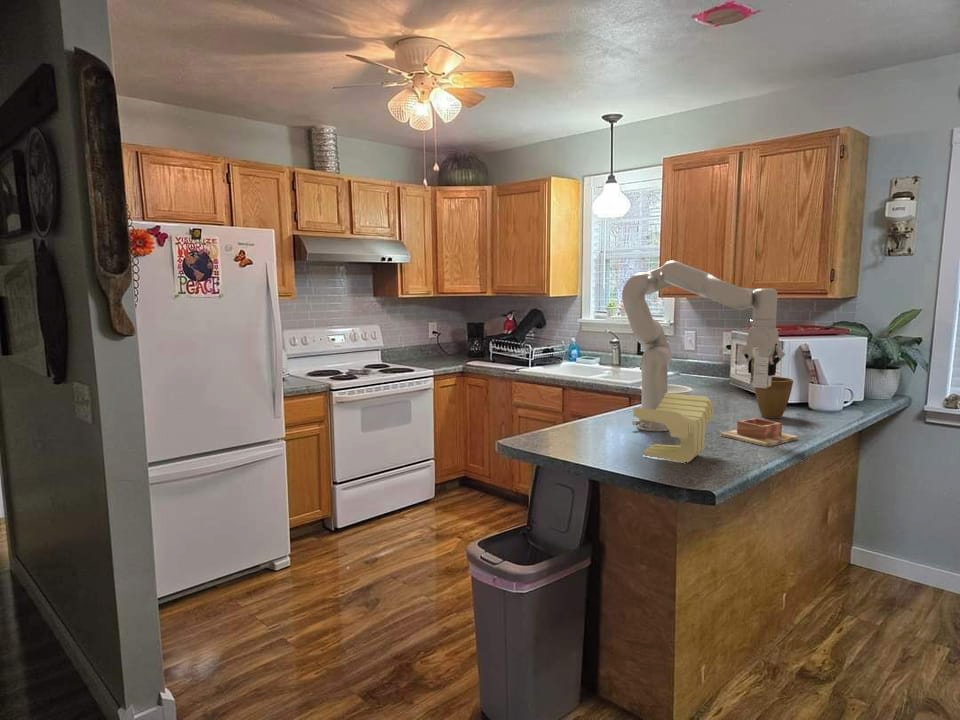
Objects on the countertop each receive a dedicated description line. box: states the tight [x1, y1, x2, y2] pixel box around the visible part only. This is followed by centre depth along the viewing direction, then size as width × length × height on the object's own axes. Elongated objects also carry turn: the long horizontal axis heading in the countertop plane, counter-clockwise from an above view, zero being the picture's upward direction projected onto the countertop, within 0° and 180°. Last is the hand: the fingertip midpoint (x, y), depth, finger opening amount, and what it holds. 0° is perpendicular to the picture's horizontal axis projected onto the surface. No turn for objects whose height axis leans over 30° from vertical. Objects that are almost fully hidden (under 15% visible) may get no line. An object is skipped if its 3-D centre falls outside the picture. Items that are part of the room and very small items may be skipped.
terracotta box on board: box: [720, 417, 799, 448], centre depth 217 cm, size 18×18×6 cm
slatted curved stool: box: [633, 393, 714, 464], centre depth 194 cm, size 30×16×18 cm, turn 145°
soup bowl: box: [638, 383, 693, 395], centre depth 286 cm, size 24×24×7 cm
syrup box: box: [749, 347, 773, 388], centre depth 214 cm, size 6×6×14 cm
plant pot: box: [753, 376, 794, 419], centre depth 251 cm, size 15×15×16 cm
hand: (761, 373), depth 214 cm, fingers closed on syrup box, 7 cm apart
